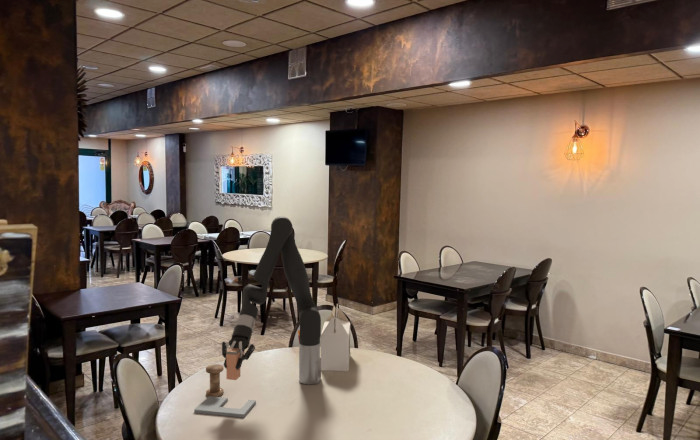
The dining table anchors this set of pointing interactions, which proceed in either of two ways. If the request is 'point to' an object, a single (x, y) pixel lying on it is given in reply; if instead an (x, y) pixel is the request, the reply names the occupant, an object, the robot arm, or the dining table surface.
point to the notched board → (215, 407)
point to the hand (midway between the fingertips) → (231, 368)
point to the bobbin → (214, 380)
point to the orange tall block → (232, 363)
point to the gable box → (335, 342)
